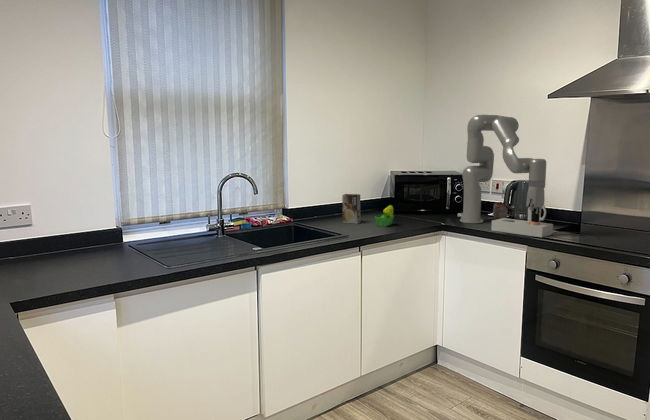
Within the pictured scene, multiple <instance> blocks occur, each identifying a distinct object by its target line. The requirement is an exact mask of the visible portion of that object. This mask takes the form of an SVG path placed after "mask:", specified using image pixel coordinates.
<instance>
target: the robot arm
mask: <svg viewBox="0 0 650 420" xmlns="http://www.w3.org/2000/svg"><path fill="white" fill-rule="evenodd" d="M466 129H467V131H466V132H467V142H466V143H467V144H466V146H467V147H466V161H467V162H469V163H470V164H479V165H469V166H466V167H465V168H464V169H463V170H462V173H461V174H462V181H463V203H462V204H463V206H462V210H463V211H462V212H460V213H459V212H457V217H458V218H460V219H459V221H460V222H461V223H465V224H482V223H484V219H482V218H481V214H482V213H481V212H482V187H481V185H480V183H488V182H489V181H490V180H492V177H493V174H494V163H495V153H494V151H493V148H492V147H490V146H487V145H484V140H485V138H484V134H483V133H482V131H483V132H484V131H486V132H488V131H489V132H494V134H495V136H496V137H497V138H498V140H499V142H500V144H501V146H502V159H503V162H504V163H505V165H506V167H507V169H508V170H509V171H510V172H511V173H513V174H515V175H516V174H517V175H518V174H528V184H527V185H528V188H527V192H526V193H527V195H526V205H525V206H526V208H528V207H530V211H531V221H532V222H539V213H540V209H541V210H542V206H545V188H546V179H547V176H546V175H547V160H546V159H544V158H532V157H518V156H517V154H516V152H515V149H514V147H516V146H517V145H518V143H519V142H520V137H519V136H518V134H517V133H516V132H517V131H518V130H519V122H518V119H516V118H514V117H513V116H504V115H497V114H478V115H474V116H473V117H471V118H470V119H469V121H468V123H467V128H466Z"/></svg>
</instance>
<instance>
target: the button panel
mask: <svg viewBox="0 0 650 420" xmlns="http://www.w3.org/2000/svg"><path fill="white" fill-rule="evenodd" d="M504 220H513V221H515V222H506V221H504ZM490 229H491V231H492V232H493V231H494V232H501V233H508V234H514V235H515V234H516V235H523V236H529V237H537V238H544V237H548V236H551V235H553V234H554V233H553V231H554V224H553V223H549V222H548V223H546V222H540V225H531V224H529V221H528V220H524V219H516V218H515V219H514V218H513V219H512V218H508V217H507V218H501V219H493V220H491V228H490Z"/></svg>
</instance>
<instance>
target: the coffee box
mask: <svg viewBox="0 0 650 420" xmlns="http://www.w3.org/2000/svg"><path fill="white" fill-rule="evenodd" d="M341 199H342V203H341V204H342V223H343V224H352V225H353V224H354V225H355V224H356V225H357V224H360V223H361V194H360V193H358V194H357V193H344V194H342V198H341Z"/></svg>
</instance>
